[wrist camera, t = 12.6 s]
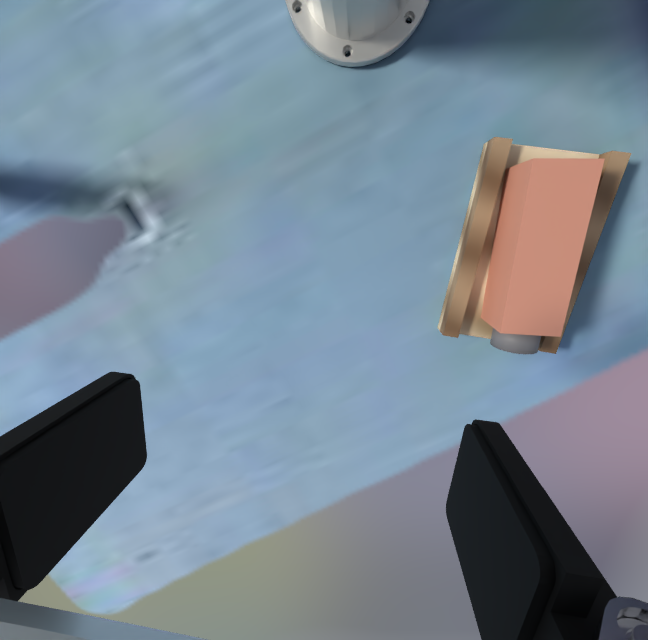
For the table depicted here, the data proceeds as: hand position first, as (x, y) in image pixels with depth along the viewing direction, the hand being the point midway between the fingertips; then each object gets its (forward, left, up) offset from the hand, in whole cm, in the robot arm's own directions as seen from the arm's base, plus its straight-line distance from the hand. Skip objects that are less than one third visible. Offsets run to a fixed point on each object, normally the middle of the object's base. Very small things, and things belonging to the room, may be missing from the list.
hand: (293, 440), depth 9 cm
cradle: (-6, +16, -27) cm, 32 cm away
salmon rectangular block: (-6, +16, -26) cm, 31 cm away
